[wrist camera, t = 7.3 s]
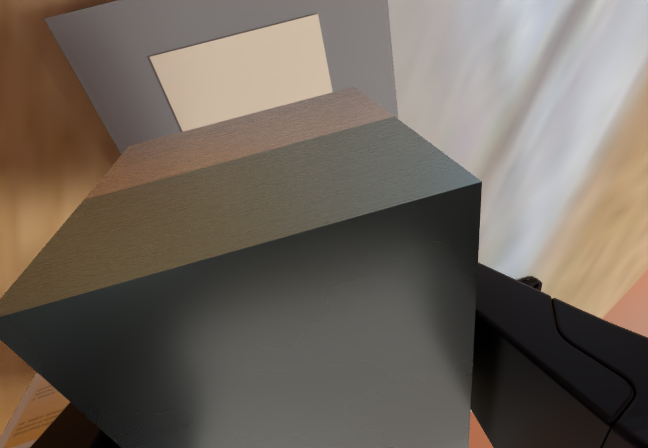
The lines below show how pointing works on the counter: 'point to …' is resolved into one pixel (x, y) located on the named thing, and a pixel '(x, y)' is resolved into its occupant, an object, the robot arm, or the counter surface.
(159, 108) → the stand
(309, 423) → the block
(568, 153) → the counter surface
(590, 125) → the counter surface
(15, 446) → the supplement box
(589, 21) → the counter surface
